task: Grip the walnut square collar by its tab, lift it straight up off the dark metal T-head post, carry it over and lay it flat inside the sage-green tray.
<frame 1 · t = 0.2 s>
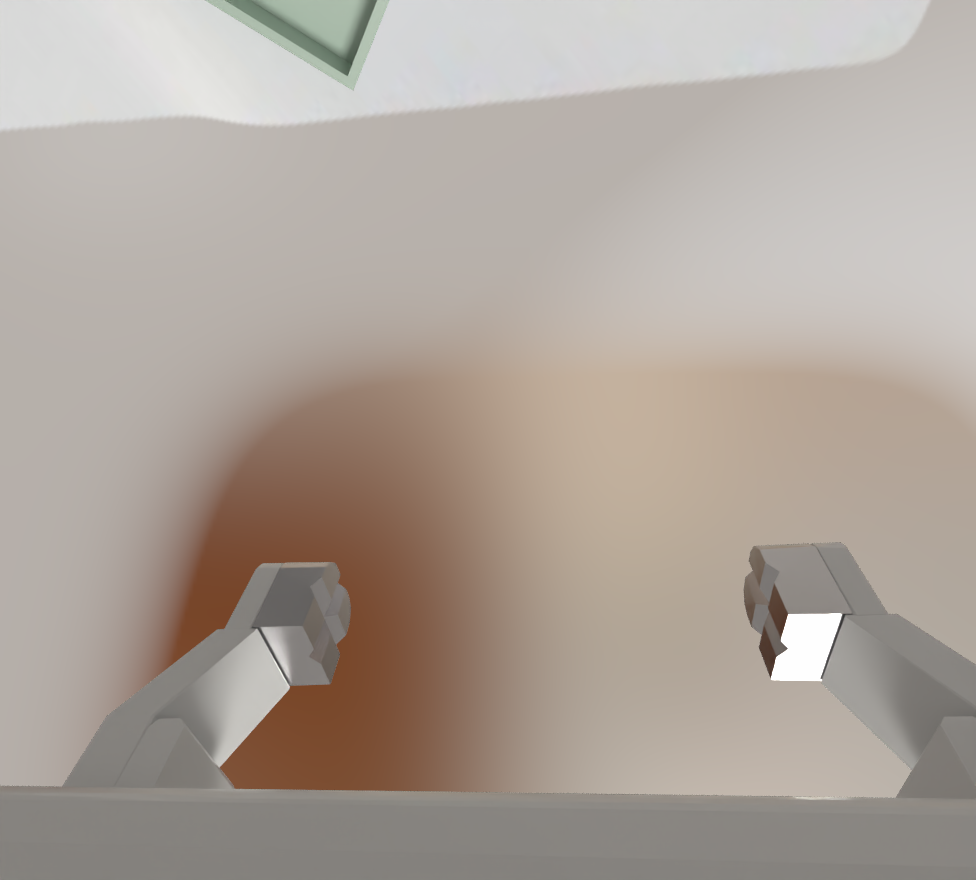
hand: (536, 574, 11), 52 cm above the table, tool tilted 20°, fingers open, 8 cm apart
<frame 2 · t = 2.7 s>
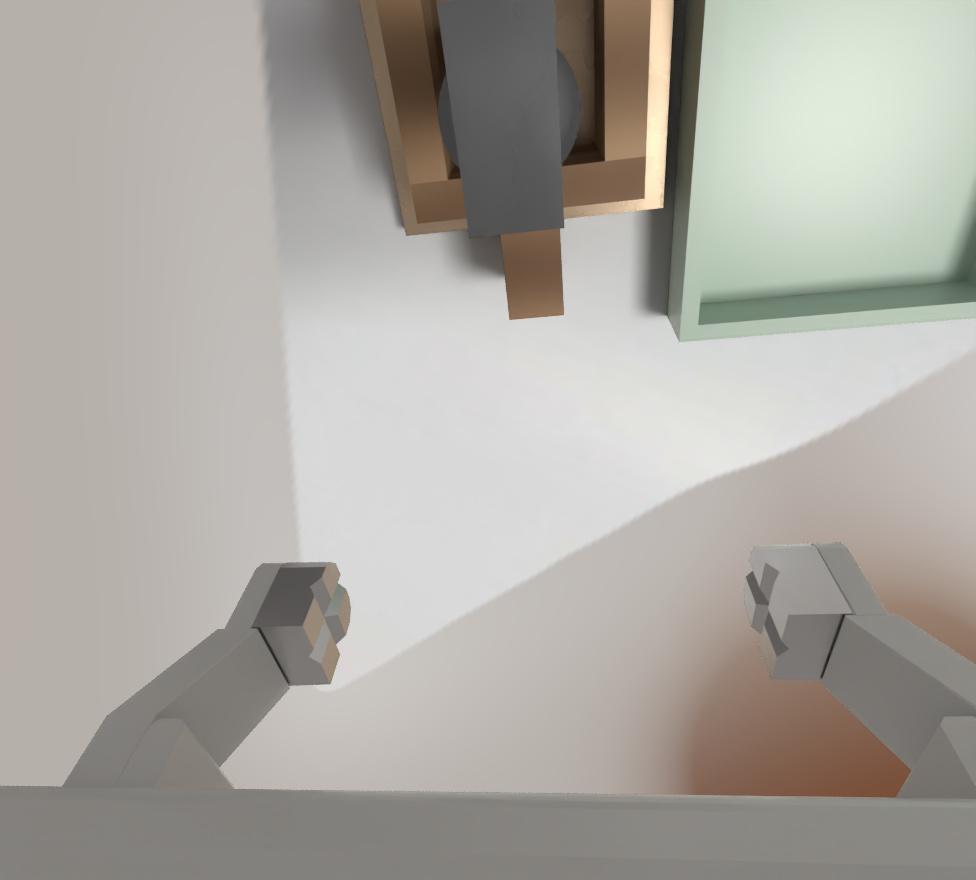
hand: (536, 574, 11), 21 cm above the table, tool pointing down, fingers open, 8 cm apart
post stand: (520, 69, 24), on the table
sage tray: (863, 78, 24), on the table
walnut collar: (519, 71, 23), point 1 cm above the table, touching post stand
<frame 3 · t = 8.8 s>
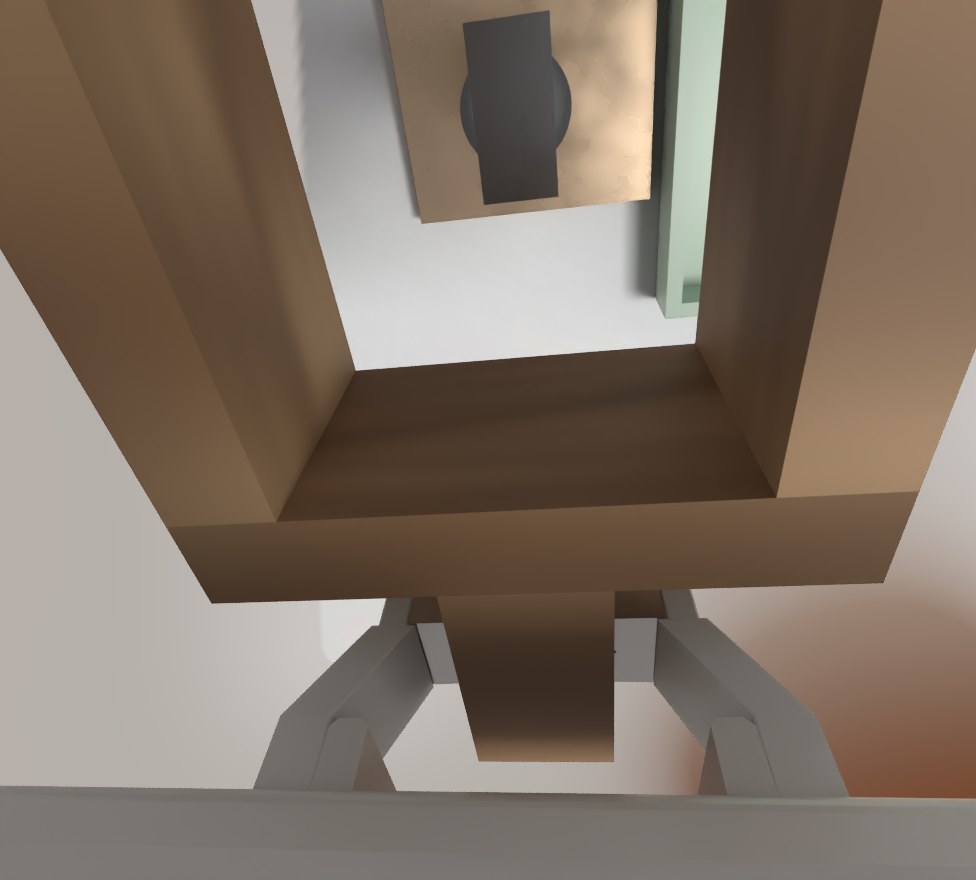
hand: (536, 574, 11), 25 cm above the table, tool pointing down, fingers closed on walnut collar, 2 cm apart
post stand: (523, 76, 28), on the table
sage tray: (823, 85, 27), on the table
walnut collar: (501, 174, 8), point 24 cm above the table, touching gripper
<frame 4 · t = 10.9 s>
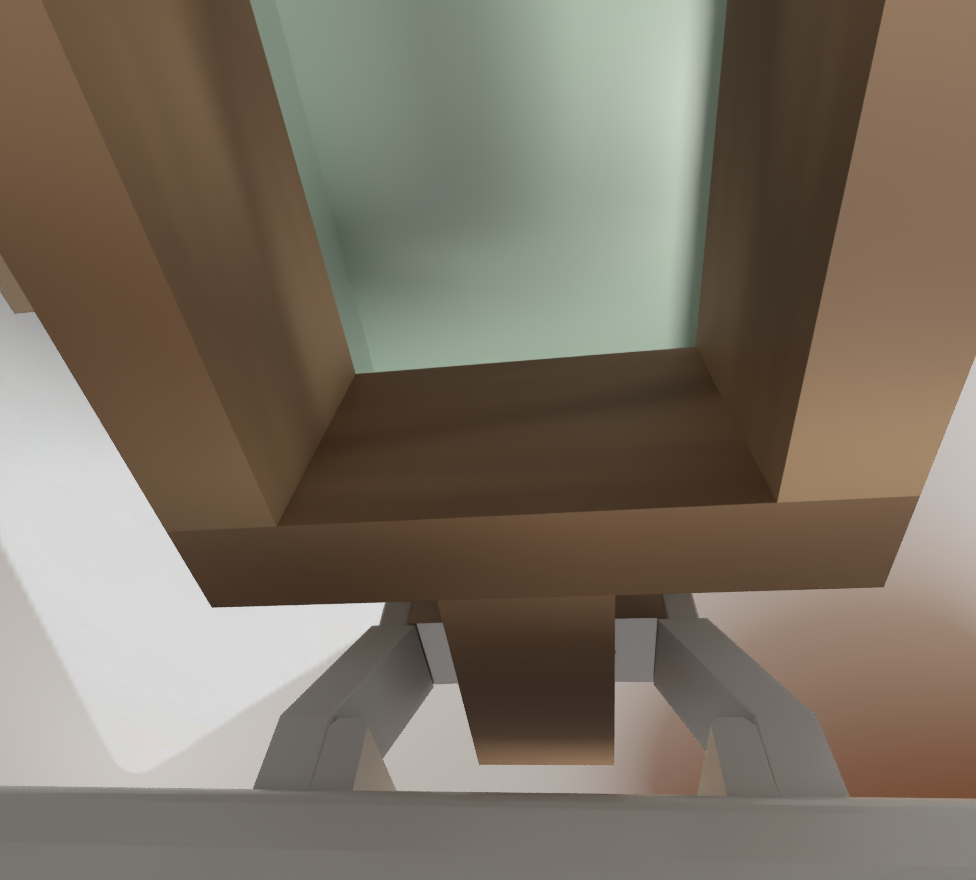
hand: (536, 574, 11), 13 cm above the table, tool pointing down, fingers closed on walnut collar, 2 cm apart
post stand: (89, 117, 19), on the table
sage tray: (513, 130, 19), on the table
walnut collar: (501, 178, 8), point 12 cm above the table, touching gripper
when the fingers open (3 cm above the table, at t = 12.9 s): walnut collar drops 1 cm, resting on sage tray.
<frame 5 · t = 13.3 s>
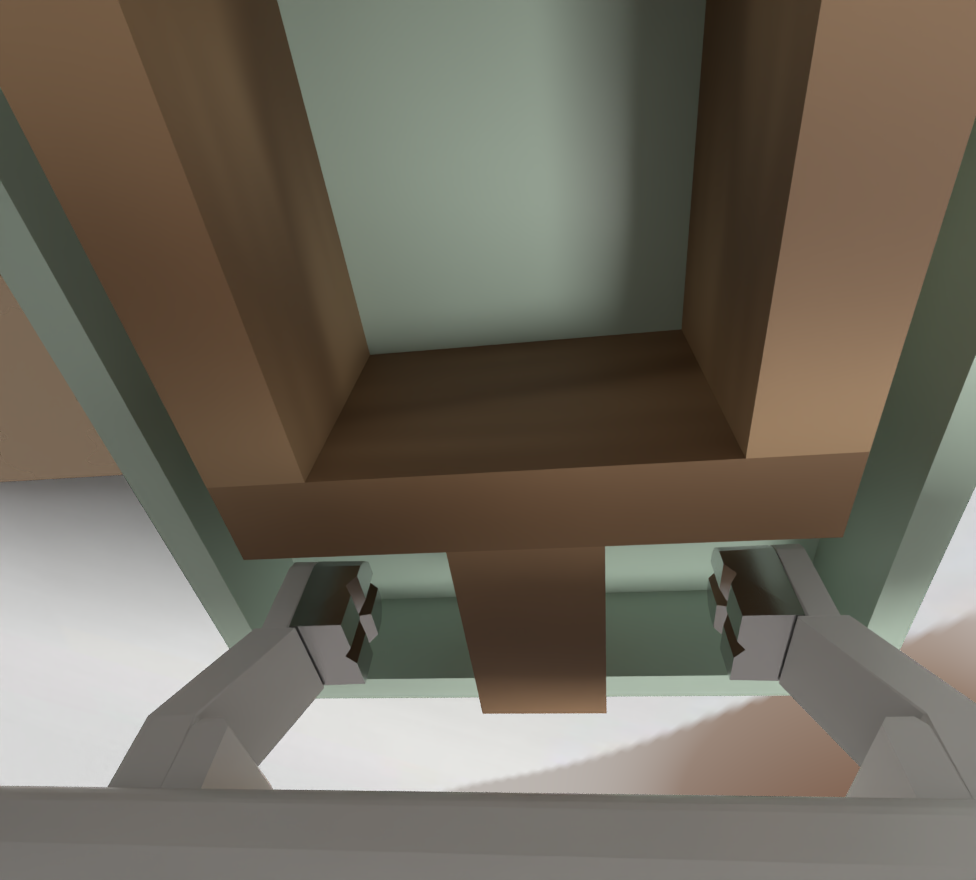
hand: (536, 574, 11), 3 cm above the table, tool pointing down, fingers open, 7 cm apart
sage tray: (513, 243, 11), on the table
walnut collar: (504, 174, 9), point 1 cm above the table, touching sage tray
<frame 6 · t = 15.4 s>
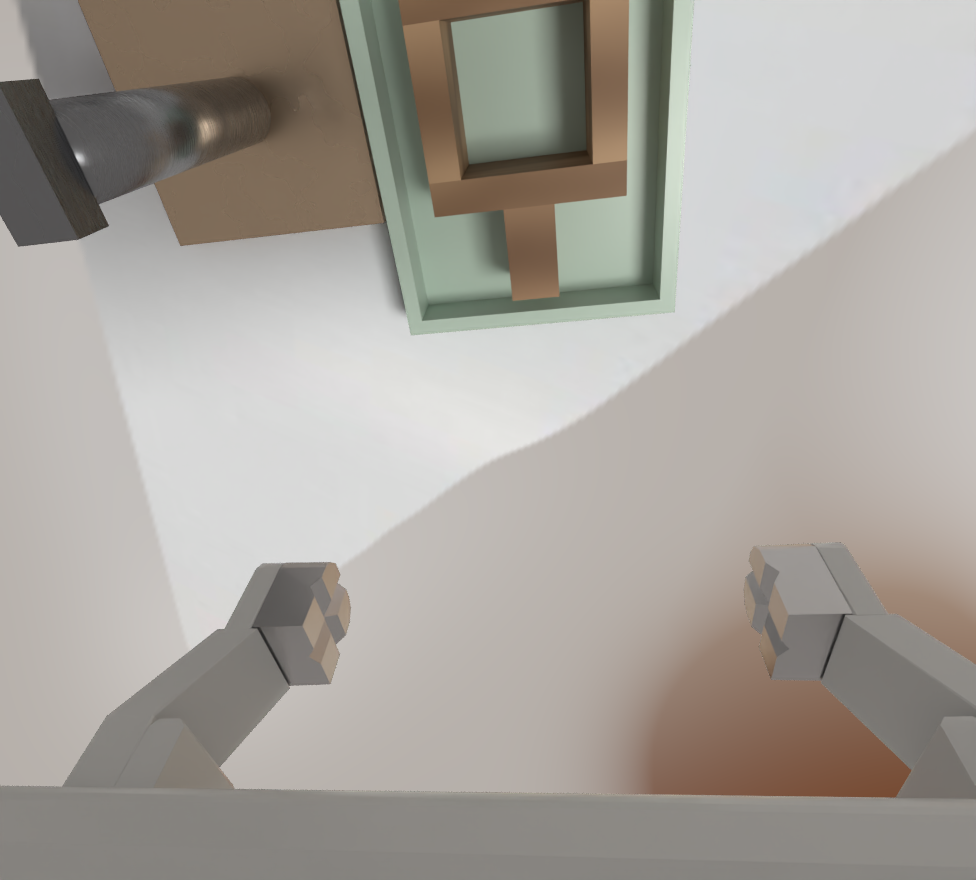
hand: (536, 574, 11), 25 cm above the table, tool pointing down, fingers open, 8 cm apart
post stand: (249, 110, 30), on the table
sage tray: (524, 118, 29), on the table
walnut collar: (521, 89, 28), point 1 cm above the table, touching sage tray
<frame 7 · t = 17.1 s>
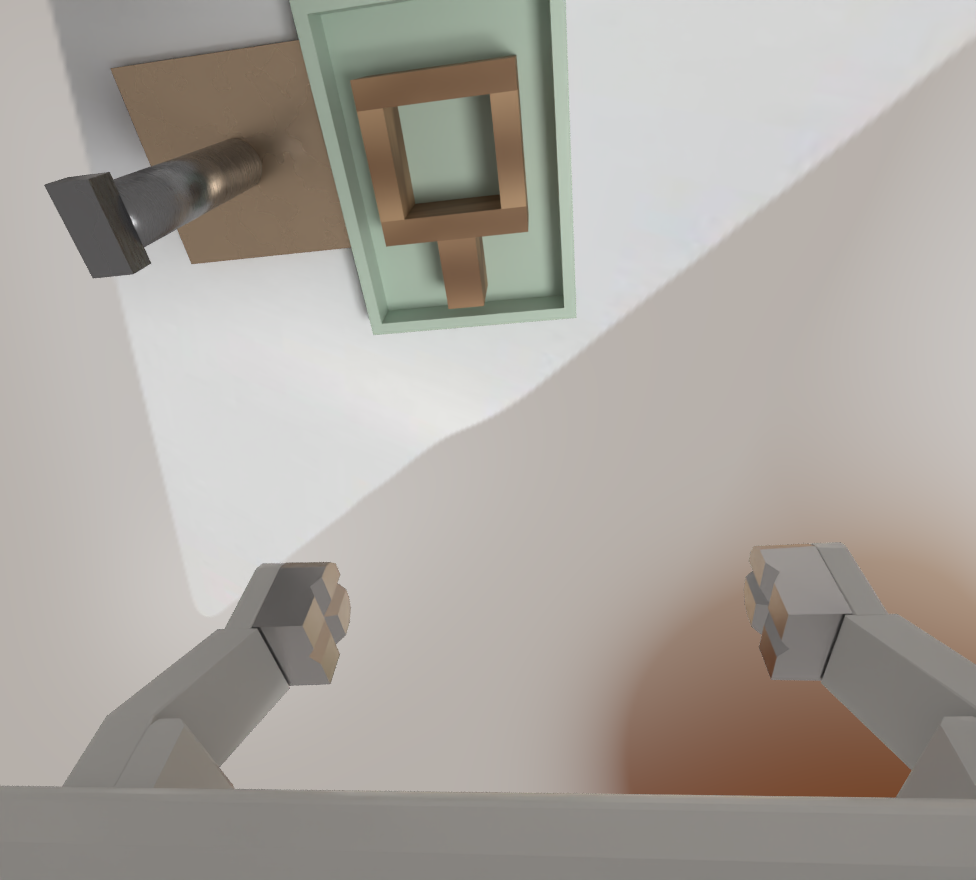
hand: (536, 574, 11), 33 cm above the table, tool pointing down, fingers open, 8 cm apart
post stand: (245, 161, 38), on the table
sage tray: (456, 169, 38), on the table
walnut collar: (452, 149, 37), point 1 cm above the table, touching sage tray
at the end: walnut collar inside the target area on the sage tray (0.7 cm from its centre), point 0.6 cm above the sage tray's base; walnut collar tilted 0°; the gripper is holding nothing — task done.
